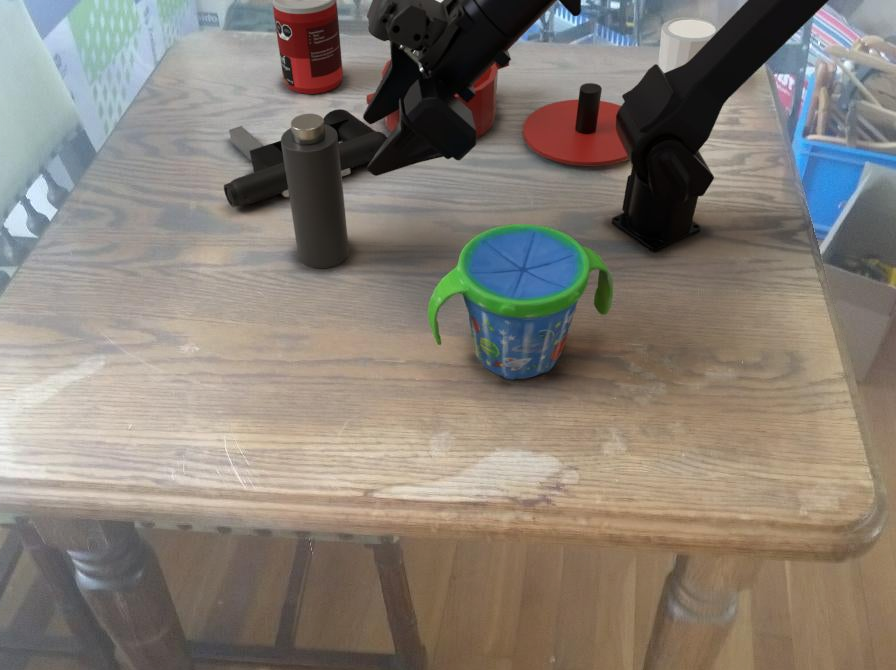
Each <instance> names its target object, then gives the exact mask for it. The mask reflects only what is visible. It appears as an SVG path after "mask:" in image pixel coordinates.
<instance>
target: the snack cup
mask: <svg viewBox="0 0 896 670" xmlns="http://www.w3.org/2000/svg"><path fill="white" fill-rule="evenodd" d="M594 270H598V279H597V287H596V289H595V292H594V296H593V305H594V308H595V309H596V310H597V312H598V313H599V314H600V315H602V316H605V315H607V314H608V313H609V312H610V309H611V306H612V302H613V297H614V282H613V277H612V274H611V272H610V270H609V268H608V265H606V263H605V262H604V260H603V259H602V258H601V257H600V255H598V254H597V252H595V251H594V250H592V249H591V248H587V247H585V246H582V245H581V243H580V242H578V241H577V240H576V239H574V238H573V237H571V235H568V234H566V233H565V232H562V231H560V230H557V229H555V228H551V227H547V226H543V225H537V224H530V223H529V224H528V223H514V224H505V225H501V226H498V227H494V228H493V227H492V228H491V229H488V230H485V231H483V232H481V233H479V234H478V235H476V236H474V237H473V238H472V239H471V240H469V241H468V242H467V244H465V246H464V247H463V248H462V250H461V252H460V254H459V257H458V263H457V265H456V266H455V267H454V268H453V269H452V270H451V271H449V272H448V273H446V275H445V276H442V278H441V280H440V282H439V283H438V284H437V285H436V287H435V288H434V290H433V292H432V295H431V297H430V299H429V303H428V308H427V320H428V323H429V327H430V329H431V332H432V335H433V338H434V340H435V342H436V344H437V345H438V346H441V345H442V341H441V340H442V339H441V335H440V330H439V329H440V328H439V321H438V313H439V310H440V308H441V307H442V306H443V305H444V304H445V303H446V302H447V301H449V299H450V298H451V297H453V296H455V295H458V294H459V295H460V294H461V295H462V297H463V300H464V303H465V307H466V310H467V312H468V322H469V327H470V333H471V339H472V344H473V350H474V353H475V356H476V359H477V361H478V362H480V363H481V364H482V365H483V367H485V368H486V369H487V370H489V371H490V372H491V373H493V374H496V375H498V376H501V377H503V378H504V379H506V380H512V381H513V380H515V379H525V380H526V379H529V378H533V377H536V376H538V375H540V374H546V373H548V372H549V371H551V370H552V369H553V368H554V366H555V364H556V363H557V361H559V359H560V356H561V354H562V352H563V349H564V346H565V343H566V341H567V337H568V333H569V331H570V330H569V329H570V327H571V324H572V322H573V318H574V314H575V313H576V310H577V304H578V301H579V300H580V298H581V297H582V296H583V294H584V292H585V290H586V288H587V287H588V283H589V279H590V273H591V272H592V271H594Z"/></svg>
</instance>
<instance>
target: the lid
mask: <svg viewBox="0 0 896 670" xmlns="http://www.w3.org/2000/svg"><path fill="white" fill-rule="evenodd" d="M602 91H603V89H602V86H601V85H599V84H597V83H595V82H594V83H593V82H587V83H584V84H581V85H580V87H579V93H578V99H567V100H566V99H565V100H561V101H560V100H559V101H556V102H552V103H549V104H546V105H544V106H541V107H539V108H537V109H536V110H534V111H532V112H531V113H530V114H529V115H528V116H527V117H526V119H525V120H524V123H523V126H522V137H523V140H524V141H525V143H526V145H527V146H528V147H529V148H530V149H532V150H533V151H534V152H535V153H537V154H538V155H540V156H542V157H544V158H547V159H549V160H551V161H555V162H558V163H561V164H567V165H570V166H571V165H573V166H580V167H581V166H582V167H583V166H584V167H598V166H606V165H607V166H608V165H613V164H617V163H621V162H625V161H627V160H629V158H628V156H627V153H626V151H625V149H624V147H623V145H622V143H621V141H620V139H619V137H618V134H617V131H616V115H617V113H618V110H619V109H620V107H621V106H622V105H620V104H617V103H613V102H610V101H605V100H601V96H602Z"/></svg>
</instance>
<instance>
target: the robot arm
mask: <svg viewBox="0 0 896 670" xmlns="http://www.w3.org/2000/svg"><path fill="white" fill-rule="evenodd" d="M558 1H559V3H560V4H561V5H562V6H563V7H564V8H565V9H566V10H567V11H568V12H569V13H570V15H572V16H573V17H578V16H579V15H581V12H582V0H442V1H441V2H440V1H438V0H372V1H371V3H370V6H369V9H368V11H367V15H366V19H367V22H368V27H367V29H368V30H367V31H368V32H369V34H370V35H371V36H372V37H373V38H375V39H376V40H380V41H382V42H387V41H389V48H390V49H389V51H390V60H391V61H390V60H389V61H390V64H389V66H388V68H387V70H386V72H385V74H384V76H383V78H382V77H381V80H380V82H379V84H378V86H377V88H376V89H375V92H373V93H374V95H373V97H372V99H371V101H370V103H369V105H368V104H367V107H366V109H365V110H364V113H363V115H362V120H363V121H364V122H366V123H367V124H369V125H373V124H375V123H377V122H379V121H381V120H383V119H385V117H386V116H388V115H390V114H391V113H393V112H395V111H396V110H398V109H399V117H400V120H399V123H398V125H397V126H396V127H395V129H394V130H393V131H392V132H390V134H389V135H388V136H387V139H386V141H385V142H384V143H383V145H382V146H381V148H380V149H379V150H378V152H377V153H376V154H375V156H374V157H373V159H372V160H371V161H370V162H368V164H367V167H366V168H367V172H368V173H370V174H372V175H373V176H374V177H377V176H381V175H385V174H387V173H391V172H394V171H396V170H400V169H402V168H406V167H409V166H412V165H416V164H419V163H423V162H427V161H432V160H435V159H440V158H445V159H446V160H450V159H452V158H453V159H454V160H455V161H461V160H462V159H463V158H464V157H465V156H466V155H467V154H469V153H470V151H472V150H473V148H475V147H476V146H477V138H476V127H475V124H474V120H473V116H472V112H471V110H470V109H469V108H467V107H466V106H465V105H464V104H463V103H462V102H461V101H460V100H458V99H457V98H456V97H455V95H456V94H457V95H459V96H460V97H461V98H462V99H463V100H464V101H465V102H466V103H468V102H469V101H470V100H471V99H472V98H473V97H474V96H475V91H474V87H473V85H474V84H475V83H476V82H477V81H478V80H479V79H480V78H481V77H482V76H483V75H484V74H485V73H486V72H487V71H488V70H489V68H490V67H491V66H492V65H493V64H494V63H495V62H496V63H497V64H498V65H499V66H501V67H502V68H501V69H504V68H505V67H504V66H505V65H506V64H507V63H508V62H509V63H510V62H511V60H512V57H511V55H510V51H509V50H510V48H512V47H513V46H514V45H515V44H516V43H517V42H518V41H519V40H520V38H522V36H523V35H525V33H527V31H529V30H530V29H531V27H533V25H535V23H537V21H539V20H540V19H541V17H542V16H544V14H545V13H546V12H547V11H549V9H550V8H552V7H553V5H554V4H555V3H556V2H558ZM829 1H830V0H746V1H745V2H744V4H742V5H741V7H740V8H739V9H738V10H737V11H736V12H735V13H734V14H733V15H732V16H731V17H730V18H729V19H728V20H727V21H726V22H725V23H724V24H723V25H722V26H721V27H720V30H719V31H718V32H717V33H716V34H715V35H714V36H713V37H712V38H711V39H710V40H709V41H708V42H707V43H706V44H705V45H704V46H703V47H702V48H701V49H700V50H699V51H698V53H697V54H696V55H695V56H694V57H693V58H692V59H691V60H690V61H688V62H687V63H686V64H684V65H682V66H680V67H678V68H675V69H673V70H671V71H668V72H666V73H664V72H663V71H662V70H661V68H660V67H659V66H658V64H653V65H652V66H651V67H649V69H648V70H647V71H646V72H645V74H644V75H643V77H642V78H641V79H640V80H639V82H638V83H637V84H636V85H635V86H634V87H633V88H632V89H630V90H627V92H625V93H623V94H622V97H621V98H622V99H623V101H624V102H623V103H622V104H621V105H620V106H621V107H620V109H619V110H618V113H617V115H616V131H617V134H618V137H619V139H620V141H621V143H622V145H623V147H624V149H625V151H626V153H627V156H628V158H629V159H628V160H629V162H630V165H631V170H630V174H629V175H627V180H626V185H625V190H624V196H623V203H622V206H621V207H622V208H621V209H622V211H623V212H622V213H620V214H618V215H615V216H613V217H612V218H611V222H610V223H611V224H612V225H613V226H614V227H616V228H617V229H618V230H620V231H621V232H622V233H624V234H626V235H627V236H629V237H630V238H631V239H633V240H634V241H636V242H637V243H639V244H640V245H641V246H643V247H644V248H646V249H647V250H649V251H650V252H652V253H657V252H660V251H662V250H664V249H666V248H669V247H671V246H672V245H675V244H677V243H680V242H681V241H684V240H686V239H688V238H690V237H692V236H695V235H696V234H699V233H700V232H701V230H702V226H701V225H700V224H699V223H697V222H695V221H694V215H695V212H696V208H697V203H698V200H699V197H703V196H704V195H705V194H706V192H707V191H708V189H709V188H710V186H711V185H712V183H713V182H714V179H715V176H714V174H713V172H712V171H711V168H710V167H709V166H708V164H707V162H706V161H705V159H704V157H703V155H702V154H701V152H700V150H701V149H702V148H703V146H704V145H705V143H706V142H707V141H708V140H709V138H710V136H711V133H712V131H713V130H714V127H715V125H716V122H717V119H718V118H719V116H720V113H721V111H722V109H723V107H724V105H725V103H727V101H728V100H729V99H730V98H731V97H732V96H733V95H734V94H735V93H736V92H737V91H738V90H739V89H741V87H742V86H743V85H744V84H745V83H746V82H747V81H748V80H749V79H750V78H751V77H752V76H753V75H754V74H755V73H756V72H757V71H758V70H759V69H761V68H762V67H763V66H764V65H765V64H766V63H767V62H768V61H769V60H770V59H771V58H772V57H773V56H774V55H775V54H776V53H777V52H778V50H780V49H781V48H782V47H783V46H784V45H785V44H786V43H788V42H789V40H791V38H792V37H794V35H795V34H796V33H798V31H800V29H801V28H802V27H804V26H805V25H806V24H807V23H808V22H809V21H810V20H811V19H812V18H813V17H814V16H815V15H816V14H817V13H818V12H819V11H820V10H821V9H822V8H824V7H825V5H826V4H827V3H828V2H829ZM503 67H504V68H503Z"/></svg>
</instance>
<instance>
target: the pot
mask: <svg viewBox="0 0 896 670" xmlns="http://www.w3.org/2000/svg"><path fill="white" fill-rule="evenodd" d="M390 61H391V59H390V60H388V61H387V62H386V64H385V65H384V67H383V70H382V71H381V79H382V78H383V76H384V74H385V72H386V70H387V68H388V66H389V64H390ZM509 66H510V61H509V62H508V63H507V64H506V65H505V66H504V67H503V68H502V67H501V66H499V65H498V64H497V63H496V62H495V63H494V64H493V65H492V66H491V67H490V68H489V70H488V71H487V72H486V73H485V74H484V75H483V76H482V77H481V78H480V79H479V80H478V81H477V82H476V83H475V84H474V85H473V87H474V91H475V96H474V97H473V98H472V99H471V100H470V101H469V102H468V103H466V102H465V101H464V100H463V99H462V98H461V97H460V96H459V95H457V94H456V95H455V97H456V98H457V99H458V100H460V101H461V102H462V103H463V104H464V105H465V106H466V107H467V108H469V109H470V110H471V112H472V116H473V120H474V124H475V127H476V139H478V138H480V137H481V136H483V135H485V134H486V133H487V132H488V131H489V130H491V128H492V126H493V125H494V123H495V118H496V113H497V96H498V95H497V94H498V74H499V73H498V72H499V70H502V69H504V68H507V67H509ZM374 93H375V92H372V93H370V94H367V95H366V104H367V106H368V105H369V103H370V101H371V99H372V97H373V95H374ZM399 120H400V117H399V109H398V110H396V111H395V112H393V113H391V114H390V115H388V116H386V117H385V118H384V121H385V125H386V128H387V130H389V132H390V133H392V131H393V130H394V129H395V127H396V126H397V125H398V123H399Z"/></svg>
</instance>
